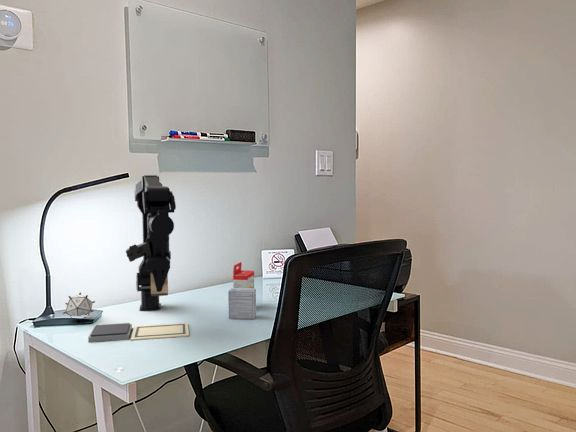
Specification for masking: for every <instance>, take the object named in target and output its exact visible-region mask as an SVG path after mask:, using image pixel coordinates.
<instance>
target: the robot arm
mask: <svg viewBox="0 0 576 432" xmlns="http://www.w3.org/2000/svg"><path fill="white" fill-rule="evenodd" d="M134 201H135V202H136V206H137V208H138V210H139V211H140V213H141V216H142V218H141V219H142V243H139V244H132V245H130V246H129V247H128V248H126V250H125V254H126V257H127V258H128V260H129V263H130V262H134V261H136V260H137V259H140V258H143V259H141V262H140V264H139V266H138V272H136V277H135V278H136V280H135V282H136V283H135V288H136V292H137V293H138V292H140V298H141V300H140V303H141V304H140V306H139V311H153V310H154V311H155V310H161V307H162V303H160V296H151V273H152V274H153V277H154V281H155V285H156V289H157V292H161V291H162V288H163V285H164V282H165V280H166V277H167V274H168V275H169V272H170V269H171V258H172V254H171V251H170V235H172V232H174V229H175V222H174V221H173V219H172V218H171V217H170V214H171V213H172V214H173V213H175V210H176V208H177V206H176V205H177V204H176V199H175V195H174V194H173V191H172V190H171V189H170V188H169V186H163V184H162V183H161V182H160V177H159V175H157V174H155V175H154V174H152V175H150V174H149V175H148V174H147V175H146V174H144V175H142V176H141V180H140V181H138V182H137V183H136V184H135V186H134ZM169 213H170V214H169Z"/></svg>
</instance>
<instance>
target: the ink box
mask: <svg viewBox="0 0 576 432" xmlns="http://www.w3.org/2000/svg"><path fill="white" fill-rule="evenodd" d="M242 266H243V265H242V261H240V262H237V263H235V264H234V265H233V266H232V267H233V271H232V285H233V286H232V288H255V271H254V270H242Z"/></svg>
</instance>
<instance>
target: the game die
mask: <svg viewBox="0 0 576 432" xmlns="http://www.w3.org/2000/svg"><path fill="white" fill-rule="evenodd" d="M88 297H89V294H86V295H83V294H82V293H81V292H79V293H78V295H75V296H72V297H71V296H70V295H68V298H69V300H68V302H65V305H66V308H65V311H63V312H62V314H63V315H64V314H66V315H68V316H69V315H70V316H69V317H71V316H81V315H87V314H89V315H90V314H91V313H93V312H94V310H92V309H93V304H94V303H96V301H95V300H93V301H92V300H90V298H88Z"/></svg>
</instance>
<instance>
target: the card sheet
mask: <svg viewBox="0 0 576 432" xmlns="http://www.w3.org/2000/svg"><path fill="white" fill-rule="evenodd" d="M130 336H131V337H130V338H129V340H130V341H141V340H154V339H169V338H181V337H184V338H185V337H190V333H189V323H188V322H178V323H177V322H176V323H162V324H148V325H143V324H142V325H134V326H133V327H132V331H131V335H130Z"/></svg>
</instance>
